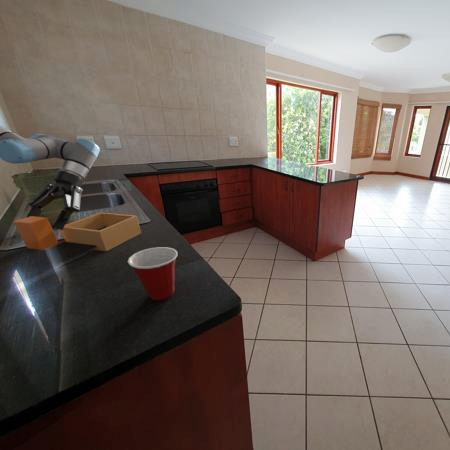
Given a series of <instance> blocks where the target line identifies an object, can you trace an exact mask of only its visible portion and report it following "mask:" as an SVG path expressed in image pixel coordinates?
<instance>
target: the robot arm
mask: <svg viewBox="0 0 450 450" xmlns="http://www.w3.org/2000/svg"><path fill="white" fill-rule="evenodd" d="M100 152H101V149H100V147H99V145H98V144H96V143H95V142H93V141H91V140H90V139H87V138H78V139H77V140H76V141H75V142H74V141H70V140H66V139H62V138H58V137H54V136H52V135H49V134H43V133H34V134H33V135H31V136H30V137H27V138H25V137H23V136H21V135H19V134H17V133H15V132H13V131H11V130H9V129H8V128H6V127H5V126H2V125H0V160H2V161H4V162H6V163H9V164H15V165H16V164H27V163H28V164H29V163H31V162H32V163H33V162H36V161H37V162H38V161H42V160H50V159H59V160H63V163H62V164H61V166H60V168H58V169H59V170H60V171H59V172H58V173H57V174H56V176H55V178H54V180H55V181H56V184H55V185H54V186H52V185H50V184H48V185H47V186H46V187H45V189H44V190H42V191H41V192H40V193H39V194H38V195H37V196H36V197H35V198H34V199H33V200H31V201H30V202H29V203H28V202H27V205H28V206H29V207H30V206H31V207H32V208H31V207H30V210H29V211H28V213H27V214H26V216H25V218H27V217H30V216H35V217H39V215H40V213H41V212H42V208H43V207H45V206H46V205H47V204H49V203H50V202H52V201H53V200H55V199H58V198H63V202H64V210H62V211H61V213H60V214H59V216H58V218H57V220H56V221H55V223H54V225H53V227H54V228H57V229H56V230H60V231H61V230H63V228H64V226H65V224H66V223H67V221H68V220H69V218H70V216H71V214H72V213H74V212H75V213H76V212H80V211H81V201H82V199H81V197H82V193H83V191H84V190H83V188H81V187H82V185H83V183H84V180H85V179H86V177H87V176H88V174H89V172H90V171H91V168H92V167H93V165H94V163H95V161H96V160H97V159H98V156H99V154H100ZM65 210H66V211H65Z"/></svg>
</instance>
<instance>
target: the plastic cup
mask: <svg viewBox="0 0 450 450" xmlns="http://www.w3.org/2000/svg"><path fill="white" fill-rule="evenodd" d="M178 254H179V253H178V250H176V249H175V248H173V247H169V246H165V247H164V246H158V247H150V248H146V249H142V250H140V251H137V252H135V253H133V254H132V255H131V256H130V257H128V260H127V263H128V265H129V266H130V267H131V268H132V270H133V271H134V273H135V274H136V276H137V278H138V279H139V281H140V283H141V285H142V286H143V288H144V290H145V291H146V293H147V294H148V296H149V297H150V298H151V300H153V301H163V300H166V299H168V298H170V297H172V296H173V295H174V293H175V290H176V287H175V282H176V274H175V273H176V270H175V269H176V260H177V257H178V256H179V255H178Z"/></svg>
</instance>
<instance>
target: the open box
mask: <svg viewBox="0 0 450 450" xmlns="http://www.w3.org/2000/svg"><path fill="white" fill-rule="evenodd" d="M104 227H105V228H104ZM102 228H103V229H102ZM99 229H101V230H99ZM60 232H61V235H62V236H63V239H64V241H65V242H66V243H73V244H80V245H81V244H82V245H90V246H94V247H92V248H91V250H94V251H100V252H108V251H110V250H112V249H114V248H117V247H118V246H120V245H122V244H124V243H125V242H128V241H129V240H132V239H133V238H135V237H137V236H139V235H141V234H142V229H141V227H140V223H139V218H138V216H137V215H131V214H121V213H110V212H98V213H95V214H92V215H89V216H86V217H84V218H81V219H79V220H76V221H75V222H72V223H69V224H67V225H65V226H64V228H63V230H60Z"/></svg>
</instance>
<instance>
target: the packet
mask: <svg viewBox="0 0 450 450" xmlns="http://www.w3.org/2000/svg"><path fill="white" fill-rule="evenodd" d="M12 222H13V224H14V226H15V228H16V230H17V231H18V234H19V235H20V237H21V240H22V241H23V243H24V245H25V247H26V248H27V249H31V250H37V251H44V250H47V249H50V248H51V247H54V246H56V245H60V244H59V241H58V238H57V237H56V234H55V232H54V230H52V228H51V225H50V223H49V221H48V219H47V218H44V217H35V216H30V217H27V218H26V217H24V218H20V219H17V220H14V221H12Z"/></svg>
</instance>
